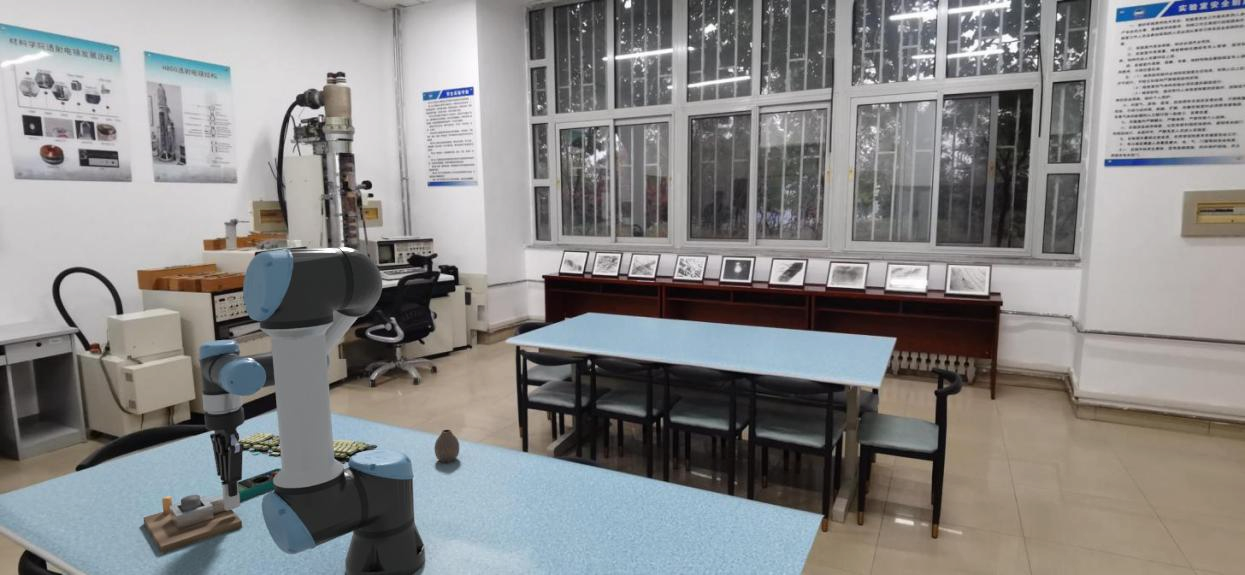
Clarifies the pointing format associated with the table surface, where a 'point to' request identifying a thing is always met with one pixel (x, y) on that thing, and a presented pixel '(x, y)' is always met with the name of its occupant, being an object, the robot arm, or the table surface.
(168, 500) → the dowel pin
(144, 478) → the table surface
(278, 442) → the keyboard
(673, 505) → the table surface
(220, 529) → the board
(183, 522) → the grey frame piece
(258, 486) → the digital multimeter
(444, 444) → the vase
